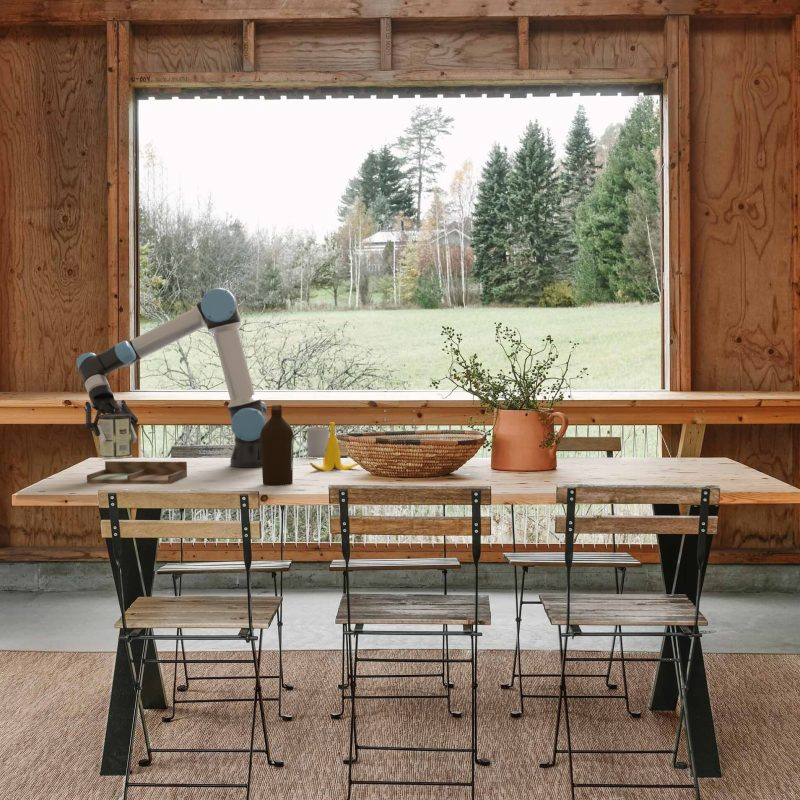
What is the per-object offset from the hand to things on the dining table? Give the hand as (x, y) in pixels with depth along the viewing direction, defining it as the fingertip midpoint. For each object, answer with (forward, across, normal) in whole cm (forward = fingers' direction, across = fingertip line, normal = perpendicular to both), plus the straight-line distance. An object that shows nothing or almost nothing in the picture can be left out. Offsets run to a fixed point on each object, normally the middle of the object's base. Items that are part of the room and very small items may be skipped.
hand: (119, 441), depth 321 cm
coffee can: (+2, 0, -6) cm, 6 cm away
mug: (+1, -88, -17) cm, 89 cm away
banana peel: (+27, -70, +9) cm, 76 cm away
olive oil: (+38, -34, +20) cm, 55 cm away
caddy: (+11, -5, -8) cm, 14 cm away
